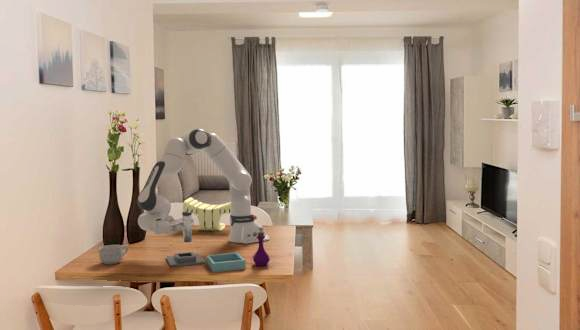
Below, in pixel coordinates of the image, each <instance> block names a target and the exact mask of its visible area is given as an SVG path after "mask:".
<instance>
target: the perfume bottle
mask: <svg viewBox="0 0 580 330" xmlns="http://www.w3.org/2000/svg"><path fill="white" fill-rule="evenodd" d="M263 228H264V227H263V226H262V227H259V228H258V229H259V231H260V232H259V233H258V236H257V237H256V238H258V240H259V242H258V247H257V250H256V252H255V253H254V255H252V259H253V262H254V264H255V266H256V267H266V266H267V265H268V264H269V262H270V259H271V258H270V255H269V254H268V253H267V251H266V250H265V247H264V241H263V239H264V238H265V236H264V232H262V230H263ZM264 229H265V228H264Z"/></svg>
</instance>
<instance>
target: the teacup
mask: <svg viewBox="0 0 580 330" xmlns="http://www.w3.org/2000/svg"><path fill="white" fill-rule="evenodd" d="M124 248H125V250H124V252H123V249H124ZM128 251H129V246H128V245H127V244H123V245H121V244H109V245H103V246H100V247H99V248H98V253H99V260H100V262H101V263H103V264H104V265H115V264H118V263H120V261H121V260H122V259H123V256H125V255H126V254H127V253H128Z"/></svg>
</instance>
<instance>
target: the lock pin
mask: <svg viewBox="0 0 580 330" xmlns="http://www.w3.org/2000/svg"><path fill="white" fill-rule="evenodd" d="M181 213H182V214H181V215H182V218H183V226H186V229H185V230H182V232H183V233H182V236H183V237H182V239H183V242H184V243H191V242H193V227H192V222H191V219H192V214H193V213H192V212H191V211H185V212H183V211H182V212H181Z"/></svg>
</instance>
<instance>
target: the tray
mask: <svg viewBox="0 0 580 330" xmlns="http://www.w3.org/2000/svg"><path fill="white" fill-rule="evenodd" d="M205 258H206V260H205V264H206V266H207V267H208V268H209V269H210V270H211V272H212V273H219V272H220V273H221V272H227V271H228V272H230V271H238V270H246V268H247V267H246V259H244V257H242V255H240V253H239V252H228V253H218V254H208V255H206V256H205Z"/></svg>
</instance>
